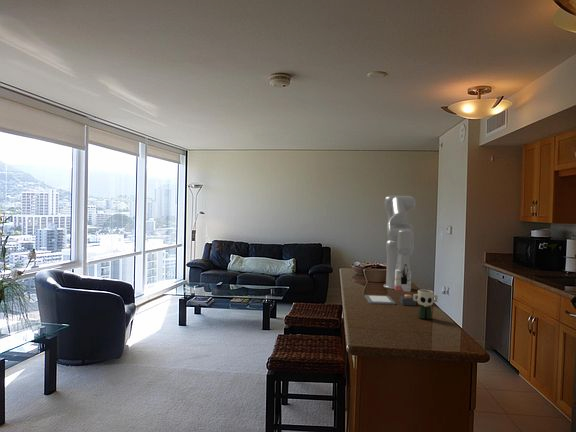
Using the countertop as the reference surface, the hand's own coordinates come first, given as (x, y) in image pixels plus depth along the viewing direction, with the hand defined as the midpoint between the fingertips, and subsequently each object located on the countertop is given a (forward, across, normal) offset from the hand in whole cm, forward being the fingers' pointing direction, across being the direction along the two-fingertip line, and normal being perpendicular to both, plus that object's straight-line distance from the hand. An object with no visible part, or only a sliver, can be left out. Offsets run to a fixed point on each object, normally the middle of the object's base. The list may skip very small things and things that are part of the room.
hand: (402, 282), depth 240 cm
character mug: (+8, +42, +1) cm, 43 cm away
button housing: (+9, +13, 0) cm, 16 cm away
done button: (+6, +13, 0) cm, 14 cm away
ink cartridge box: (+5, 0, 0) cm, 5 cm away
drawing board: (+9, +7, -14) cm, 18 cm away
